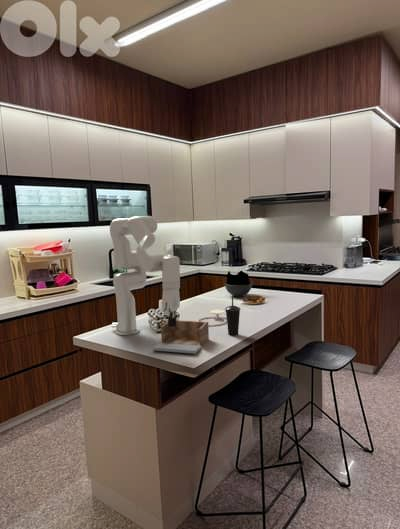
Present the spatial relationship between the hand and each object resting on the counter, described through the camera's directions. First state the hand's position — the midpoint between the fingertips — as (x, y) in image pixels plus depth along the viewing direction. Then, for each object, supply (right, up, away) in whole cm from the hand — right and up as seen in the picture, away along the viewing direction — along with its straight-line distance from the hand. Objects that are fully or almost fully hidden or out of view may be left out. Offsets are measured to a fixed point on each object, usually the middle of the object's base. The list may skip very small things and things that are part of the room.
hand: (172, 325), depth 161 cm
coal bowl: (+41, +3, +110) cm, 117 cm away
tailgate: (+3, -11, +9) cm, 14 cm away
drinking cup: (+29, -9, +24) cm, 39 cm away
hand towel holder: (+19, -6, +49) cm, 53 cm away
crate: (+5, -11, +15) cm, 19 cm away
